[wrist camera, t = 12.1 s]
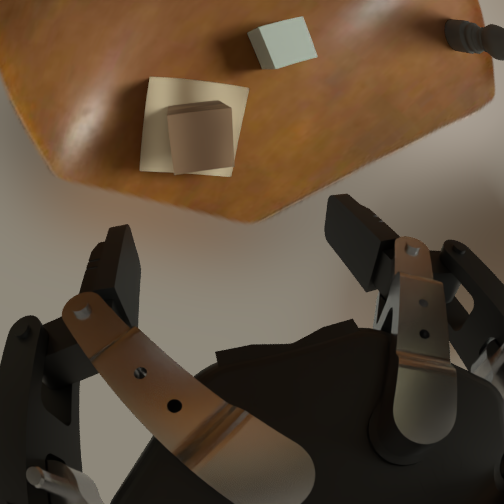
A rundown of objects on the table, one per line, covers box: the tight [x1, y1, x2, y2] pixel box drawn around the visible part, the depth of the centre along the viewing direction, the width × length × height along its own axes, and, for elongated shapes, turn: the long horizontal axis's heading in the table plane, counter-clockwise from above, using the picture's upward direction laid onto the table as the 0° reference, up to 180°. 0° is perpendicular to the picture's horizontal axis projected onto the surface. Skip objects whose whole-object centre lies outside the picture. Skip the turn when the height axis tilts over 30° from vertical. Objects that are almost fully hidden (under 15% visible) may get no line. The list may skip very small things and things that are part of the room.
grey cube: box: [247, 16, 317, 69], centre depth 25 cm, size 5×5×5 cm
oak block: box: [139, 77, 249, 177], centre depth 29 cm, size 10×10×5 cm
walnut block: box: [167, 100, 235, 175], centre depth 24 cm, size 5×5×7 cm
